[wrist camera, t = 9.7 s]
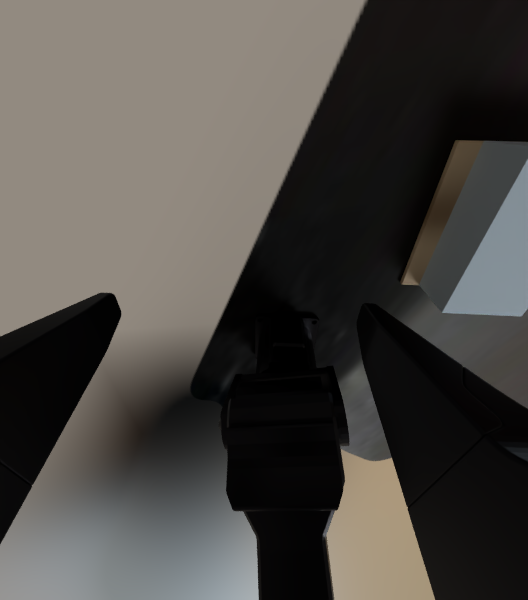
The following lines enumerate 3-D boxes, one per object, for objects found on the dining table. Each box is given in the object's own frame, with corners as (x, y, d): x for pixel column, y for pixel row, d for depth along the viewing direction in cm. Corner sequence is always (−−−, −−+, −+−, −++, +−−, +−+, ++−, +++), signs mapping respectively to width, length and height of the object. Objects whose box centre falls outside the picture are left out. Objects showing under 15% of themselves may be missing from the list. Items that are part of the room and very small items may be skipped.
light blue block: (487, 287, 23) (521, 316, 20) (418, 284, 23) (441, 312, 20) (579, 143, 16) (653, 150, 13) (483, 140, 16) (534, 147, 13)
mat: (501, 285, 23) (504, 288, 23) (400, 282, 23) (402, 284, 23) (596, 143, 17) (602, 144, 16) (455, 140, 17) (458, 140, 17)
